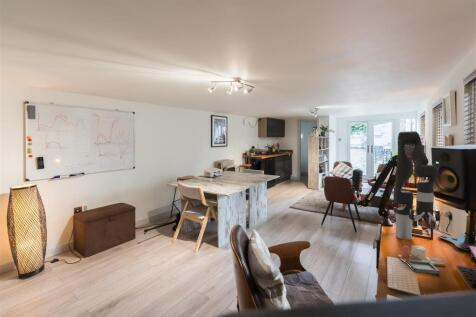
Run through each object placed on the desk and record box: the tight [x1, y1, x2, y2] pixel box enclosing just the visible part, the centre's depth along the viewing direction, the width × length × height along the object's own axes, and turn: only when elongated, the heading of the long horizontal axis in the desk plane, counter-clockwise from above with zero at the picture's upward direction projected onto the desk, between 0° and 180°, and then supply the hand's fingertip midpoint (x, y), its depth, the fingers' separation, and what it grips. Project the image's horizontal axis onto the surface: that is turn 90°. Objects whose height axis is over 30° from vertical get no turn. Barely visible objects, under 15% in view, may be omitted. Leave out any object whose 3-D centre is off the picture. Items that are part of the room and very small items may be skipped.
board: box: [397, 254, 446, 267], centre depth 130 cm, size 7×20×1 cm, turn 75°
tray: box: [406, 260, 440, 275], centre depth 123 cm, size 9×11×2 cm
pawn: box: [401, 245, 410, 260], centre depth 132 cm, size 4×4×7 cm
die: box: [411, 244, 427, 257], centre depth 136 cm, size 5×5×5 cm
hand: (423, 227), depth 132 cm, fingers open, 8 cm apart
